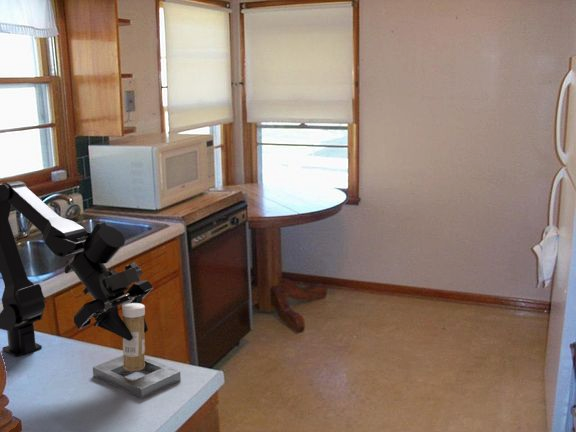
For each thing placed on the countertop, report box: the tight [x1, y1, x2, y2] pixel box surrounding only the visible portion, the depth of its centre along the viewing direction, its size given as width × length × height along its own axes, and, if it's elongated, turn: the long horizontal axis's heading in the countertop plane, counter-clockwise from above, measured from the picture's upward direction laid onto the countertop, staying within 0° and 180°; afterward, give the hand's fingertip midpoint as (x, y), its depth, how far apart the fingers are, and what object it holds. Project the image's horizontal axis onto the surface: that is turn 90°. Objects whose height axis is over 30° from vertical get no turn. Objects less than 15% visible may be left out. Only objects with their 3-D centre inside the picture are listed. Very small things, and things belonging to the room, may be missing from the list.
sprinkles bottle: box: [121, 303, 146, 372], centre depth 125 cm, size 5×5×13 cm
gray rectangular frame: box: [92, 354, 182, 400], centre depth 126 cm, size 16×10×2 cm, turn 52°
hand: (138, 335), depth 124 cm, fingers closed on sprinkles bottle, 4 cm apart
